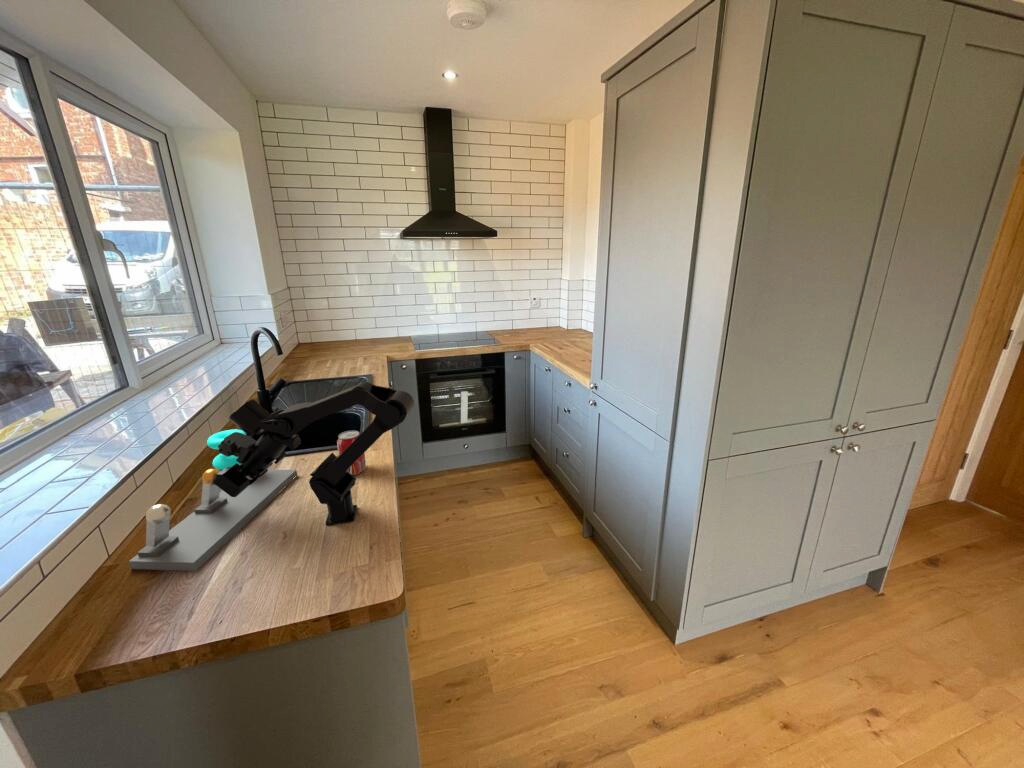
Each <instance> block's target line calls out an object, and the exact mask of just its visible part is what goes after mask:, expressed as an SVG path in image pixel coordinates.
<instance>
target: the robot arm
mask: <svg viewBox="0 0 1024 768" xmlns="http://www.w3.org/2000/svg"><path fill="white" fill-rule="evenodd" d="M357 405H359V406H362V407H363V408H365V409H366V410H367V411H369V412H370V414H372V415H374V417H373V420H372V421H371V423H370V424H368V426H367V427H365V429H364V430H363V431H362V432H361V433H359V436H358V437H357V438H356V439H355V440H354V441H353V442H352V443H351V444H350V445H349V446H348V447H347V448H346V449H345V450H344V451H343V453H341V454H340V455H339V454H338V455H335V454H334V453H333V452H331V453H330V455H328V456H327V457H326V458H325V459H324V460H323V461H322V462H321V463H320V464H319V465H318V466H317V467H316V468H315V469H314V470H313V471H312V472H311V473H310V474H309V475H310V476H311V477H310V479H309V481H308V484H309V487H310V489H311V490H312V491H313V493H314V495H315V497H316V498H317V500H318V501H319V503H320V505H326V506H327V507H326V508H327V512H328V513H327V517H326V520H325V523H324V524H325V525H326V526H332V525H337V524H343V523H345V524H346V523H350V522H354V521H355V519H356V513H357V511H358V510H357V509H358V505H357V504H354V503H353V497H352V492H351V489H353V487H354V486H355V485H356V480H357V478H356V476H355V475H351V474H350V473H349V472H348V471H349V469H350V467H351V465H352V464H353V463H354V462H355V461H356V460H357V459H358V458H359V457H360V456H361V455H362V454H363V453H366V452H367V450H368V449H369V448H370V447H372V446H373V444H374V443H376V442H377V440H378V439H379V438H380V437H382V435H383V434H385V433H387V432H389V431H391V430H393V429H394V428H396V427H397V426H399V425H400V424H401V423H403V422H404V421H405V419H407V417H408V416H409V414H410V413H411V412H412V411H413V409H414V408H415V401H414V398H413V396H412V395H411V393H408V392H407V391H404V390H397V389H393V388H391V387H386V386H381V385H375V384H373V383H370V382H368V381H361V382H359V383H358V384H356V385H354V386H351V387H349V388H346V389H344V390H341V391H339V392H337V393H334V394H332V395H328V396H327V397H324V398H321V399H319V400H316V401H313V402H312V401H311V402H309V401H308V402H307V401H306V402H301V403H296V404H292V405H291V406H289V407H288V408H285V409H278V410H276V411H274V412H272V413H270V412H269V411H268V410H266V409H265V408H264V407H262V405H260V404H259V403H258V402H257V400H255V399H254V398H251V399H249V400H247V401H245V403H244V404H243V405H242V406H240V407H239V408H238V409H236V410H235V411H234V412H232V413H231V414H230V415H229V416H228V417H229V418H228V419H229V421H230V422H232V423H233V424H234V425H236V426H237V427H238V428H240V430H242V431H244V432H245V434H246V435H244V434H242V433H239V432H234V433H232V434H230V435H229V436H227V437H225V438H224V440H223V441H221V444H220V445H218V448H219V449H218V452H219V454H223V455H226V456H228V457H229V456H231V455H233V456H236V457H238V458H237V460H236V461H237V462H239V463H240V464H241V465H239V464H237V463H236V464H235V465H234V466H232V467H226V468H225V469H224V470H220V471H221V472H219V473H218V474H216V476H215V477H214V478H213V479H212V483H214V484H215V485H216V486H218V487H219V488H220V490H221V491H222V490H223V491H224V492H226V493H227V494H228V495H230V496H231V497H236V496H238V495H239V494H240V493H241V492H243V491H244V490H245V489H246V488H247V487H248V486H249V485H251V484H252V483H254V482H255V481H256V480H257V478H259V477H261V476H262V475H263V474H265V473H266V472H267V471H268V470H269V468H270V467H272V465H273V464H275V465H277V464H279V463H280V462H281V461H283V459H284V458H285V457H286V455H287V453H286V450H285V449H286V447H287V448H289V449H290V450H292V451H294V450H295V449H296V448H297V447H299V445H301V444H302V440H301V438H300V435H299V434H298V433H300V432H301V431H302V430H305V428H307V427H308V426H310V425H311V424H313V423H314V422H316V421H318V420H321V419H323V418H326V417H329V416H330V415H333V414H336V413H339V412H342V411H344V410H346V409H349V408H352V407H354V406H357ZM262 433H263V434H262ZM261 434H262V435H261ZM254 435H256V436H259V435H261V436H260V437H259V438H258V439H257V440H256V439H254V438H253V436H254Z"/></svg>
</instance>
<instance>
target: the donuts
mask: <svg viewBox="0 0 1024 768" xmlns="http://www.w3.org/2000/svg"><path fill="white" fill-rule="evenodd" d="M234 432H239V433H242V434H244V435H247V433H246V432H245V431H243V430H242V429H235V428H234V429H228V430H222V431H219V432H216V433H214V434H212V435H210V436H209V437H208V439H207V441H206V444H207V446H208V447H209V448H211V449H213V450H219V448H218V445H220V444H221V441H223V440H224V438H225V437H227V436H229V435H230V434H232V433H234ZM237 458H238V457H236V456H233V455H231V456H229V457H228V456H226V455H223V454H221V453H219V454H217V455H216V456H215V457H214V458H213V460H212V466H213V467H214V469H218V470H220V471H222V470H224V469H225V468H226V467H232V466H234V465H235V464H236V463H237V464H239V465H241V464H240V463H239V462H237V461H236V460H237Z"/></svg>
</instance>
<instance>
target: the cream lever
mask: <svg viewBox="0 0 1024 768" xmlns="http://www.w3.org/2000/svg"><path fill="white" fill-rule="evenodd" d="M171 515H172V510H171V508H170V506H169V505H167V504H164V503H158V504H154V505H152V506H150V507H149V508H148V510H147V511H146V512H145V519H146V523H145V528H146V529H145V546H151V547H156V546H157V545H158V544H159V543H161V542H162V541H163V540H165V539H166V538H167V537H169V530H170V519H171Z"/></svg>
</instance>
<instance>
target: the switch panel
mask: <svg viewBox="0 0 1024 768" xmlns="http://www.w3.org/2000/svg"><path fill="white" fill-rule="evenodd" d="M295 476H297V477H298V472H297V469H268V471H267V472H266V473H265V474H263V475H262V476H261V477H259V478H257V480H256V481H255V482H254V483H252V484H251V485H249V486H248V487H247V488H246V489H245V490H244V491H243V492H241V493H240V494H239V495H238V496H236V497H231V496H230V495H228V494H227V493H226V492H224V491H223V490H222V489H221V490H220V494H219V498H218V499H217V500H215V501H214V502H213V503H211V504H210V505H209V506H208V505H204V504H200V505H198V506H197V507H196V508H194V509H193V512H192V513H190V514H189V515H188V516H186V517H185V518H184V519H182V520H181V521H180V522H178V523H177V524H175V525H174V526H173V527H172V528H171V529H169V537H167V538H166V539H165V540H163V541H162V542H161V543H159V544H158V545H157V546H156V547H151V546H147V545H145V546H144V547H142V548H141V549H139V550H138V551H137V554H136V555H135V556H134V557H132V558H131V559H130V560H128V563H129V565H130V568H131V570H151V571H152V570H153V571H154V570H155V571H156V570H157V571H159V570H160V571H162V570H163V571H197V570H198V569H199V568H200V567H202V566H203V565H204V564H205V563H206V562H207V561H208V560H209V559H210V558H211V557H212V556H213V555H215V553H217V552H218V551H219V549H220V550H221V548H222V547H223V546H224V545H225V544H226V543H228V542H229V541H230V539H232V538H233V537H234V536H235V535H236V534H237V533H238V532H239V531H240V530H242V528H244V526H245V525H247V524H248V523H249V522H250V521H251V520H252V519H253V518H254V517H255V516H257V514H258V513H259V512H260V511H261V510H263V509H264V508H265V507H266V506H267V505H268V504H269V503H270V502H271V501H272V500H273V499H274V498H276V497H277V495H278V493H279V492H280V491H281V490H282V489H283V488H284V487H285V486H286V485H287V484H288V485H290V483H291V482H293V481H294V480H293V478H294V477H295ZM290 481H291V482H290ZM288 485H287V486H288ZM287 486H286V487H287ZM286 487H285V488H286ZM285 488H284V489H285ZM284 489H283V490H284ZM283 490H282V491H283ZM282 491H281V492H282ZM281 492H280V493H281ZM280 493H279V494H280Z"/></svg>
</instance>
